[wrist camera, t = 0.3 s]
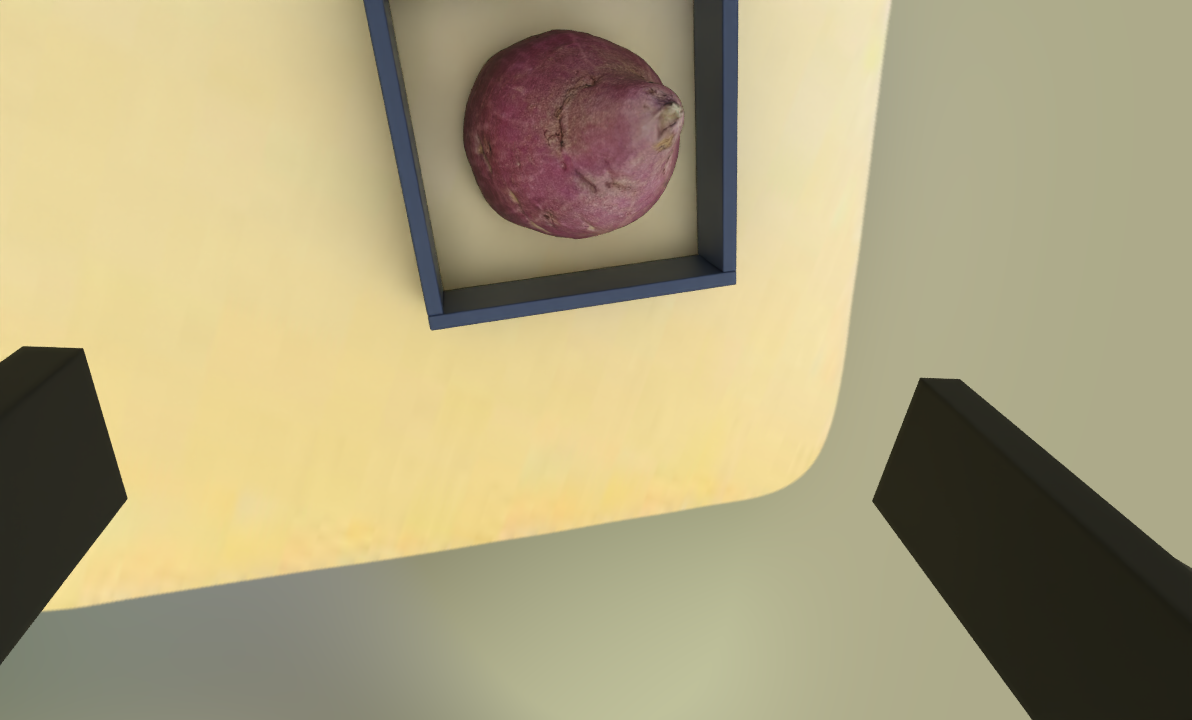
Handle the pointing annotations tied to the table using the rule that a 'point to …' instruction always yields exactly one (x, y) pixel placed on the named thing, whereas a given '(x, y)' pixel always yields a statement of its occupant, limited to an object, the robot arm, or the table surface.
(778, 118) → the table surface
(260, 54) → the table surface
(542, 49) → the vegetable
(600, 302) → the square frame
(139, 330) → the table surface
